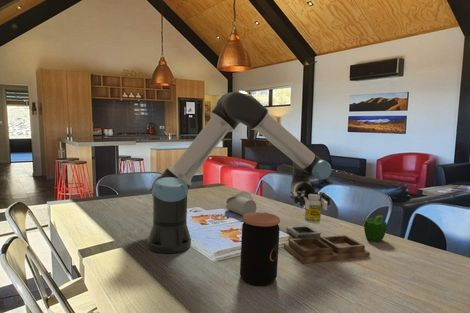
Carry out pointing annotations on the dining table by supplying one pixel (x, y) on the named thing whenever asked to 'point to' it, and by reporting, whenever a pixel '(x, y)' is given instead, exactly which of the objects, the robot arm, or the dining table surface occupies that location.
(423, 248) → the dining table surface
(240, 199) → the l-shaped cylinder
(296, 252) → the walnut rack
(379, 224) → the bell pepper
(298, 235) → the can holder
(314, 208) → the supplement bottle
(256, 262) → the coffee jar
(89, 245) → the dining table surface
